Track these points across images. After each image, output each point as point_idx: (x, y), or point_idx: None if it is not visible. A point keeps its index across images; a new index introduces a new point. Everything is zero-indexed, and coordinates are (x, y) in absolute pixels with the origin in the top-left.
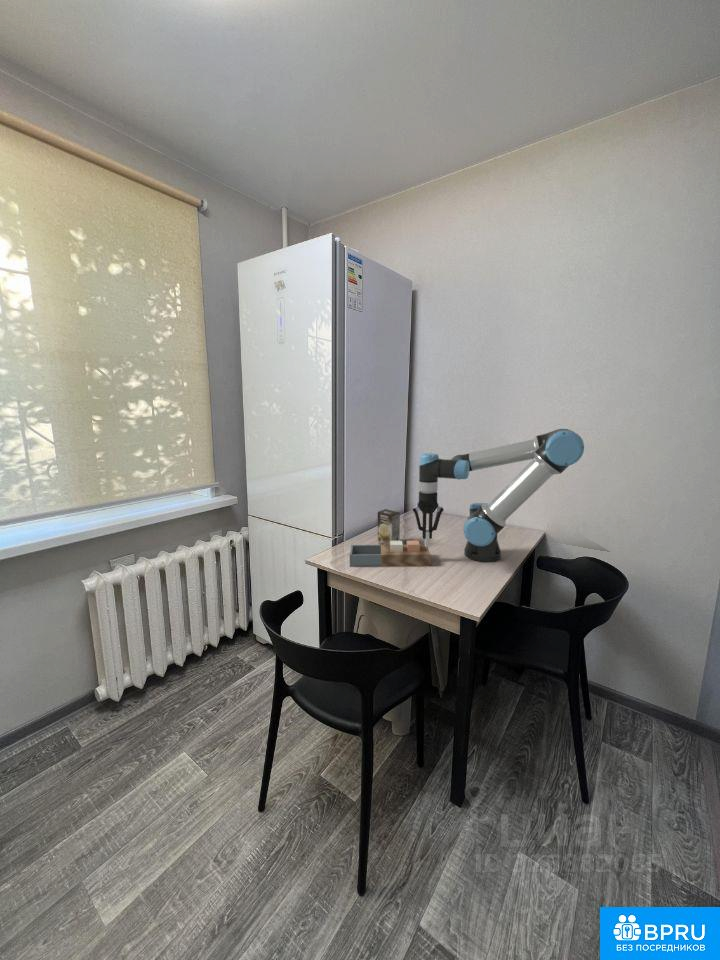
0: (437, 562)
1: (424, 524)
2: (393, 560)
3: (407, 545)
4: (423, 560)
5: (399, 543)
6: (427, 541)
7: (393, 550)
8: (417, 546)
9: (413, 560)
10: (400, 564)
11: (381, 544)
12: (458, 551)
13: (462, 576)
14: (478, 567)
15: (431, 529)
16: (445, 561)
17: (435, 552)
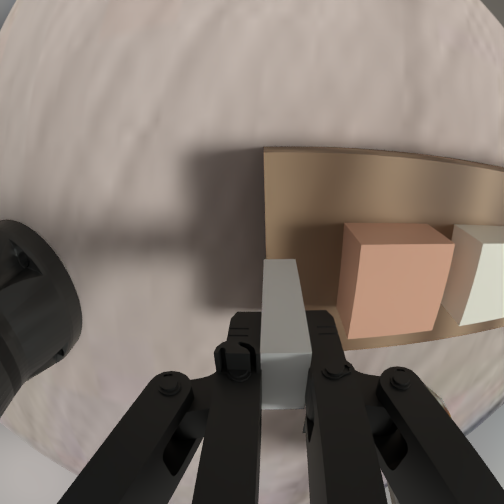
0: (212, 205)
1: (353, 450)
2: (483, 165)
3: (447, 249)
4: (314, 149)
5: (491, 271)
6: (281, 284)
7: (500, 228)
8: (374, 237)
9: (382, 152)
10: (440, 157)
11: (435, 393)
12: (108, 340)
13: (105, 32)
14: (28, 157)
15: (227, 384)
16: (164, 221)
17: (213, 340)
